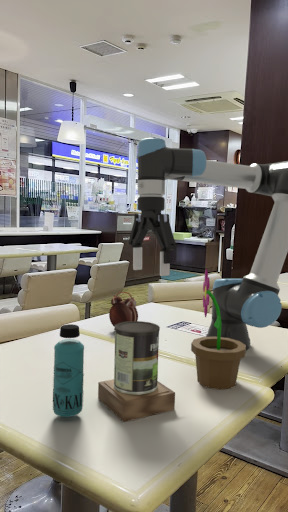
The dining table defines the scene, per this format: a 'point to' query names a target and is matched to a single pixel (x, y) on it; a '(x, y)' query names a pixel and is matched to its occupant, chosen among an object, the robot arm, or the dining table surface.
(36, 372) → the dining table surface
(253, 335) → the dining table surface
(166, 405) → the walnut base
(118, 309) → the alarm clock
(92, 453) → the dining table surface
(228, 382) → the flowerpot
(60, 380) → the beverage bottle
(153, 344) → the coffee can
